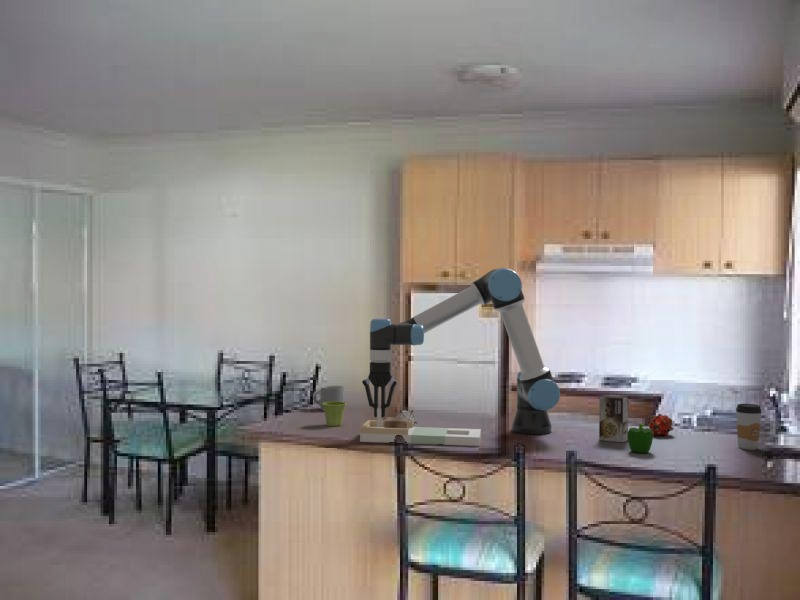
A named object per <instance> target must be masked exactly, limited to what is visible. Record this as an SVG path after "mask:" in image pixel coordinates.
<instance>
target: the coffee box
mask: <svg viewBox="0 0 800 600" xmlns="http://www.w3.org/2000/svg"><path fill="white" fill-rule="evenodd" d="M598 399H599V400H598V402H599V404H598V409H599V412H598V414H599V418H598V419H599V421H598V423H599V425H598V428H599V429H598V440H599V441H605V442H606V441H607V442H614V443H624V442H627V440H628V431H629V396H628V395H626V396H625V395H618V394H617V395H616V394H602V395H600V396H599V398H598Z"/></svg>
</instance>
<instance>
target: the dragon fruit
mask: <svg viewBox="0 0 800 600" xmlns="http://www.w3.org/2000/svg"><path fill="white" fill-rule="evenodd" d="M647 425H648V427H649V428H648V429H651V431H652V433H653V437H658V436H657V435H659V436H661V435H663V436H664V435H665V436H664V437H667V436H668V435H670V432H671V431H674V427H673V419H672V418H670V417H669V416H668V415H665V414H664V415H663V414H661V413H658V414H657V415H655V416H652V417H651V419H650V420H649V422H648V424H647ZM666 435H667V436H666Z"/></svg>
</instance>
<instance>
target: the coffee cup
mask: <svg viewBox="0 0 800 600" xmlns="http://www.w3.org/2000/svg"><path fill="white" fill-rule="evenodd" d="M735 412H736V413H735V414H736V433H737V434H736V435H737V436H736V437H737V446H738V448H739V449H741V450H749V451H754V450H758V448H759V440H760V431H761V417H762V416H761V415H762V413H763V412H762V408H761V405H759V404H755V403H738V404H736V408H735Z"/></svg>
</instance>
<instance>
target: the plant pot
mask: <svg viewBox="0 0 800 600" xmlns="http://www.w3.org/2000/svg"><path fill="white" fill-rule="evenodd" d="M322 404H323V406H324V409H325V411H324V416H325V421H326V422H325V425H326V426H328V427H337V426H342V425H343V420H344V412H345V408H346V405H347V402H344V401H343V402H324V403H322Z"/></svg>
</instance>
